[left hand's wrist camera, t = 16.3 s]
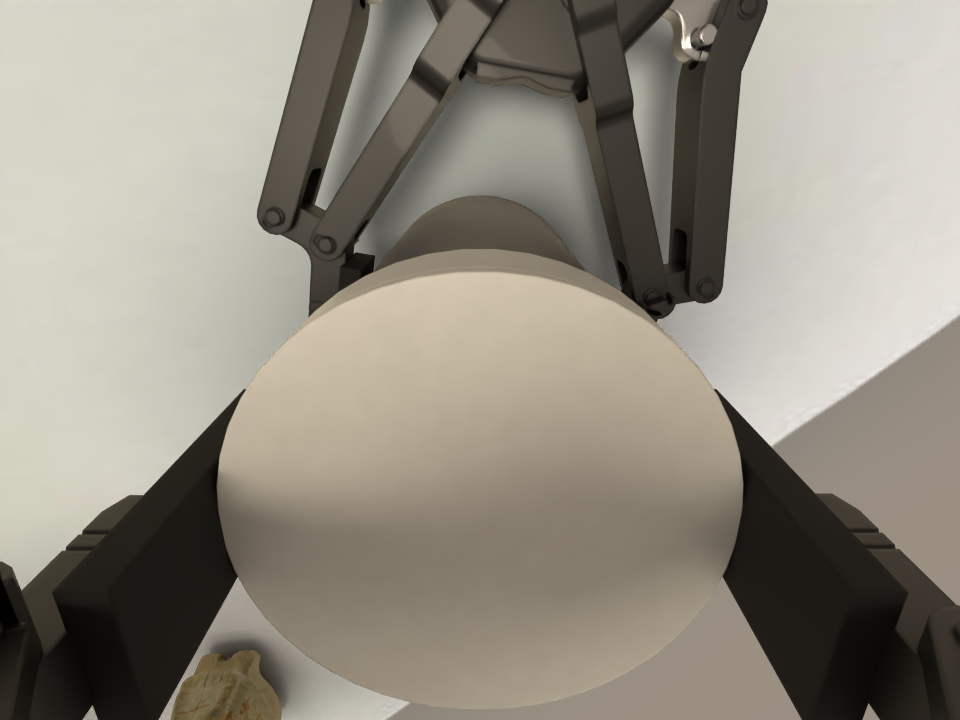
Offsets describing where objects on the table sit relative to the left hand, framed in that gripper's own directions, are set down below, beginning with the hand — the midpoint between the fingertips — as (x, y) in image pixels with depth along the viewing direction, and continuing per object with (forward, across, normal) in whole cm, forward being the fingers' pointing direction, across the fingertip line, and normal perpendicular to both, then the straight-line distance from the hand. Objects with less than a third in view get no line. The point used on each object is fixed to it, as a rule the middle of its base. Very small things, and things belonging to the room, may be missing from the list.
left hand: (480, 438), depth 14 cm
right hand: (+8, -1, -4) cm, 10 cm away
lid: (-3, 0, 0) cm, 3 cm away
